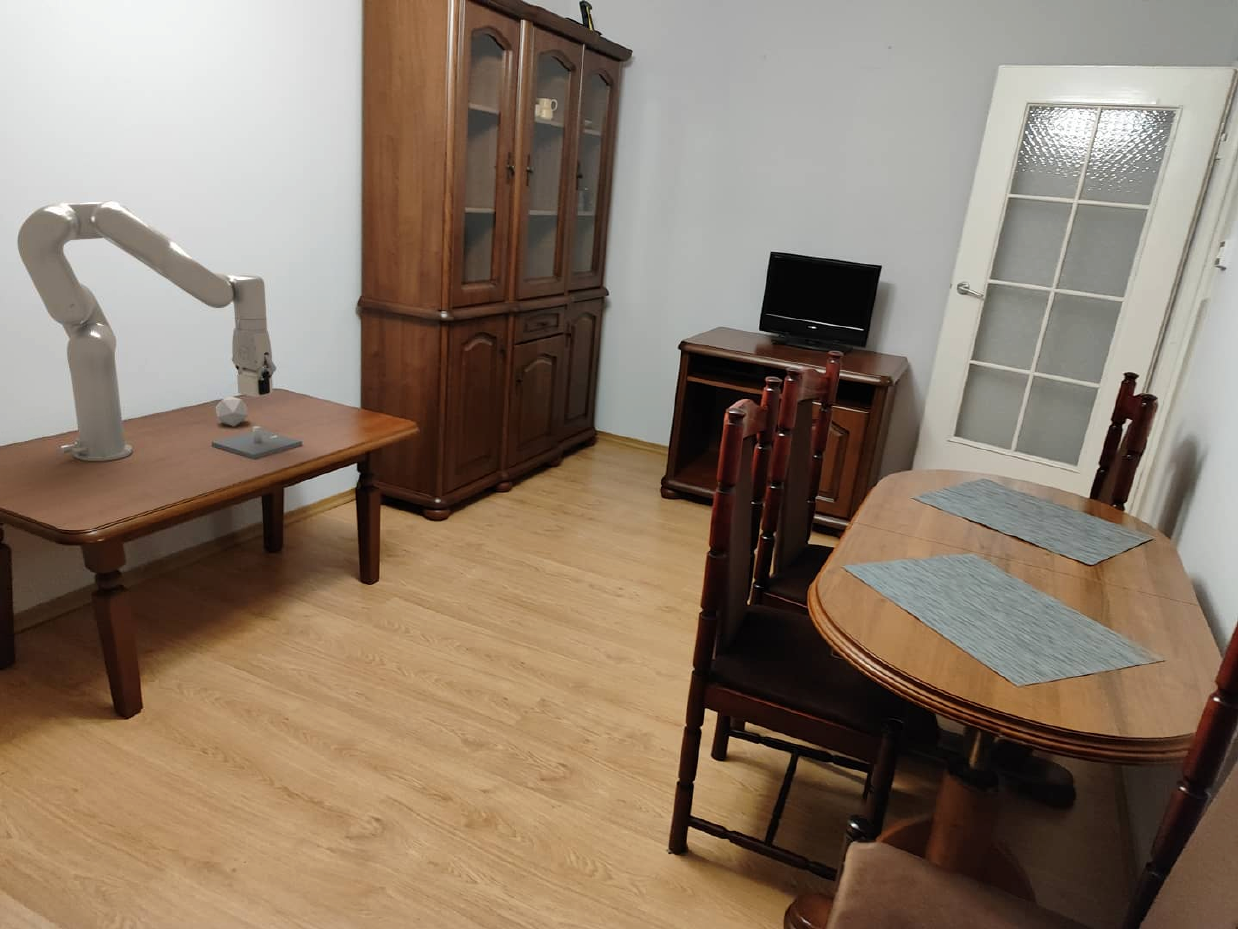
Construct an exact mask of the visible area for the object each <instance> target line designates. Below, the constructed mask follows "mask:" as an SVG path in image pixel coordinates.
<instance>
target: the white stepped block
mask: <svg viewBox="0 0 1238 929" xmlns="http://www.w3.org/2000/svg"><path fill="white" fill-rule="evenodd" d="M262 373H263V374H264V370H262ZM236 378H237V390H238V394H240V395H244V396H248V397H252V398H258V397H262V396H265V395H271V394H274V387H273V385H274V384H273V375H272V376H271V379H269V382H270V393H269V394H264V395H259V389H258V380H260V379H259V376H258V373H257V370H252V369H248V368H247V369H243V370H242V374H238V373H237V375H236Z"/></svg>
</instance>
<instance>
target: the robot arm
mask: <svg viewBox="0 0 1238 929" xmlns="http://www.w3.org/2000/svg"><path fill="white" fill-rule="evenodd" d="M94 239H95V240H96V239H104V240H106V241H108V242H109V243H111V244H112V245H114V246H116V247H118V249H121V250H122V251H123V252H126V254H129V255H130V256H131V257H133V258H134V259H136V260H137V261H139V262H141V263H142V264H144V265H145V266H147V267H149V268H150V269H152V270H153V271H154V272H156V273H157V274H158V275H160V276H161V277H163V278H165V279H166V280H168V281H169V282H171V283H172V284H174V285H175V286H176V287H179V288H180V290H182V291H183V292H185V293H187V294H188V295H190V296H192V297H194V298H195V299H196V300H198V301H200V302H201V303H202V304H204V305H205V306H208V307H210V308H213V309H224V308H225V307H228V306H229V305H230V304H231V302H232V303H233V310H234V324H235V328H233V331H232V332H233V334H232V340H231V341H232V347H231V348H232V351H231V352H232V353H231V354H232V357H231V362H232V363H233V365H234V367H235V368H236V370H237V375H238V374H242V370H243V369H247V368H248V369H252V370H257V373H258V376H259V379H260V380H258V389H259V395H262V396H265V395H264V394H267V395H270V394H269V393H270V382H269V379H271V376H272V377H273V375H274V373H275V372H276V371H277V366H276V365H275V363H274V362H273V353H272V344H271V339H270V335H269V331H268V325H267V324H268V323H267V307H266V288H265V282H264V279H263V278H262V277H260V276H257V275H244V274H243V275H242V274H241V275H228V274H224V273H223V274H222V273H215V272H212V271H211V270H210V269H208V268H206V267H204V266H203V265H202V264H200V263H199V262H197V261H196V260H195V259H194V258H192V257H191V256H190V255H188V254H187V253H186V252H185V250H183V249H182V248H181V246H180V245H178V244H177V243H176V242H175V241H173V239H171V238H170V237H168V236H166V235H165V234H164V233H162V232H160V231H159V230H157V229H156V228H154V227H153V226H151V225H150V224H148V223H147V222H145V221H144V220H142V219H141V218H139V217H138V216H136V215H135V214H134V213H132V212H131V211H130V209H129V208H128V207H127V206H125V205H124V204H122V203H120V202H117V201H112V200H111V201H97V202H73V203H70V202H69V203H52V204H47V205H45V206H42V207H40V208H38V209H36V210H35V211H33V213H31V214H30V215H29V216H28V217H27V219H26V220H25V221H23V223H22V225H21V227H20V229H19V231H18V234H17V240H16V241H17V250H18V254H19V257H20V258H21V261H22V263H23V266H24V267H25V269H26V271H27V273H28V275H29V277H30V278H31V281H32V283H33V285H34V287H35V289H36V291H37V293H38V295H39V297H40V299H41V301H42V302H43V305H44V307H45V309H46V311H47V313H48V315H49V316H50V317H51V318H52V319H53V320H54V321H55V322H56V323H58V324H60V325H61V326H62V328H63V330H64V331H65V333H66V336H68V337H67V338H68V342H67V347H66V357H67V358H66V359H67V363H68V367H69V373H70V377H71V378H70V379H71V387H72V393H73V394H72V395H73V400H74V408H75V415H76V422H77V423H76V424H77V430H78V437H76V438H74V442H72V443H71V444H66V445H61V446H59V447H58V451H59V453H60V454H61V455H64V454H68V453H71V454H72V455H73V457H74V458H76V459H78V460H81V461H88V462H106V461H114V460H118V459H122V458H125V457H129V456H130V455H131V454H132V453H133V447H132V446H131V444H128V443H126V442H125V437H124V428H123V426H124V425H123V420H122V419H123V417H122V409H121V399H120V398H121V397H120V392H119V390H120V389H119V381H118V374H117V365H116V348H117V339H116V336H115V335H116V334H115V333H114V331H113V329H112V327H111V325H110V323H109V321H108V319H107V318H106V316H105V313H104V311H103V309H102V308H101V306H100V303H99V302H98V299H97V298H96V296H95V295H94V293H93V292H92V290H91V289H90V288H89V287H87V286H86V285H85V284H83V283H81V282H79V280H78V278H77V276H76V275H75V272H74V270H73V268H72V266H71V263H70V261H69V260H68V259H67V257H66V255H65V251H64V246H65V245H66V244H67V243H68V242H70V241H75V240H76V241H77V240H80V241H81V240H94ZM262 370H264V374H263V373H262Z"/></svg>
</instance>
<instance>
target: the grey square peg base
mask: <svg viewBox="0 0 1238 929" xmlns="http://www.w3.org/2000/svg"><path fill="white" fill-rule="evenodd" d="M300 446H303V441H302V440H299V439H295V438H293V437H288V436H285V435H282V434H280V433H279V434H278V433H274V432H272V431H269V430H265V429H262V427H261V426H252V431H249V432H246V433H242V434H237V435H233V436H229V437H226V438H221V439H217V440H214V441H211V447H213V448H217V449H221V450H222V451H227V452H230V453H232V454H237V455H239V456H243V457H247V458H249V459H253V460H255V459H258V458H263V457H266V456H269V455H272V454H276V453H281V452H283V451H287V450H290V449H294V448H298V447H300Z"/></svg>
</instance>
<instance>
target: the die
mask: <svg viewBox="0 0 1238 929" xmlns="http://www.w3.org/2000/svg"><path fill="white" fill-rule="evenodd" d="M215 411H216V417H217V419H218V420H219V421H220V422H221V423H222V424H224V425H228V426H230V427H236V426H238V425H239V424H240V423H242V422H244V420H246V419H247V418H248V417H249V412H248V408H247V405H246V403H245V402H244V401H243V400H242V399H241V398H238V397H235V396H232V395H229V396H228V397H225V398H223V399H221V401H219V403H217V405H216V406H215Z"/></svg>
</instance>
